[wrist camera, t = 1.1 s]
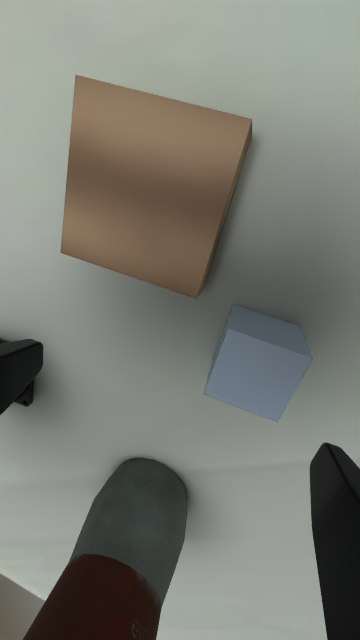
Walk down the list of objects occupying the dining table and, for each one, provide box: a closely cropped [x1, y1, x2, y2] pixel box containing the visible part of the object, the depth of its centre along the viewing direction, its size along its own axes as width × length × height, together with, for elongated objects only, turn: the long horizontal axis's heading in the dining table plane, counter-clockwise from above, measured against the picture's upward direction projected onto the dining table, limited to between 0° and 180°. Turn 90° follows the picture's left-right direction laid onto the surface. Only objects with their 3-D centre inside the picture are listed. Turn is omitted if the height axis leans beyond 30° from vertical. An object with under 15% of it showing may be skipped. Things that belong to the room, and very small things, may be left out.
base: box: [61, 75, 252, 299], centre depth 18 cm, size 10×10×3 cm
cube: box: [204, 304, 313, 422], centre depth 19 cm, size 5×5×5 cm
